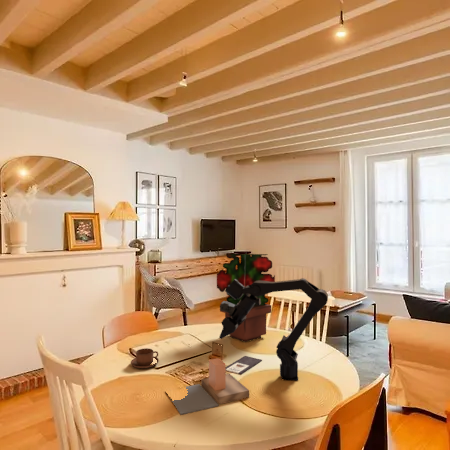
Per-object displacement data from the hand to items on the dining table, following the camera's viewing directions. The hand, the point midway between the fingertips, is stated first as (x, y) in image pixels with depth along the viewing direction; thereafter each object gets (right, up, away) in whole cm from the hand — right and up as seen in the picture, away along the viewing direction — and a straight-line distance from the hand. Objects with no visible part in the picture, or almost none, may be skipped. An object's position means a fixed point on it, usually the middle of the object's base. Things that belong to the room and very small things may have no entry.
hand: (223, 334), depth 159 cm
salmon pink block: (-2, -12, -22) cm, 25 cm away
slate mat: (-12, -15, -26) cm, 32 cm away
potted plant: (+12, -14, +44) cm, 47 cm away
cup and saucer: (-34, -15, +5) cm, 38 cm away
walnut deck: (0, -15, -20) cm, 25 cm away
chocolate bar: (+9, -15, +5) cm, 18 cm away
